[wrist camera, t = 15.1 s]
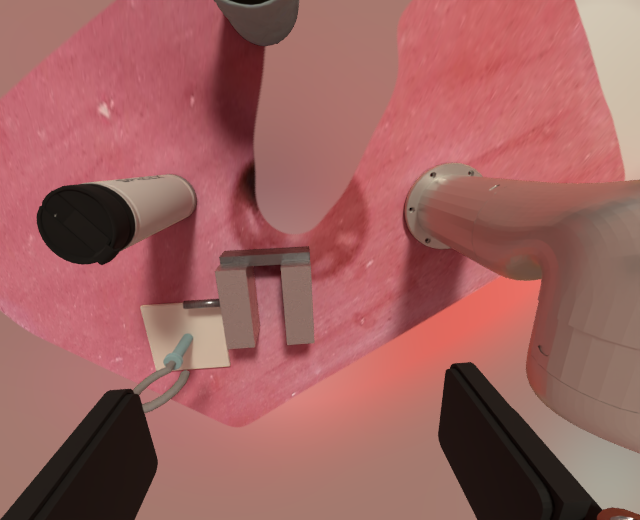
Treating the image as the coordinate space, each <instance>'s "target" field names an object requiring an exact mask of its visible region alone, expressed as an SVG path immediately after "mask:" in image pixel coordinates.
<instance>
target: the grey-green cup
mask: <svg viewBox="0 0 640 520" xmlns="http://www.w3.org/2000/svg"><path fill="white" fill-rule="evenodd" d="M214 1H215V2H216V3H217V5H218V7H219V8H220V10H221V11H222V12H223V14H224V15H225V16H226V17H227V18H228V20H229V21H230V23H231V24H232V26H233V27H234V28H235V30H236V31H237V32H238V33H239V34H240V35H241V36H242V37H243V38H244V39H246V40H248V41H249V42H251V43H254V44H256V45H260V46H268V45H273V44H278V43H279V42H280V41H281V40H283V39H284V38H285V37H287V35H288V34H289V33H290V32H291V30H292V28H293V27H294V24H295V22H296V19H297V15H298V7H299V0H214Z"/></svg>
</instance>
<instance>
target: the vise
mask: <svg viewBox="0 0 640 520" xmlns="http://www.w3.org/2000/svg"><path fill="white" fill-rule="evenodd" d="M219 258H220V265H219V267H218V268H217V269H216V271H215V276H216V282H217V288H218V294H219V299H207V300H191V301H184V302H183V308H184V309H195V308H211V307H221V313H222V320H223V326H224V332H225V339H226V345H227V349H239V348H253V347H255V346H256V342H257V337H258V333H259V329H260V320H259V311H258V302H257V293H256V285H255V276H254V267H253V266H264V265H281V278H282V290H283V302H284V314H285V326H286V338H287V345H294V344H308V343H314V323H313V303H312V282H311V264H310V252H309V246H308V247H290V248H271V249H253V250H234V251H224V252H223V253H222V255H221V256H220V257H219Z"/></svg>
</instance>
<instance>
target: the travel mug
mask: <svg viewBox="0 0 640 520" xmlns="http://www.w3.org/2000/svg"><path fill="white" fill-rule="evenodd" d="M196 204H197V198H196V193H195V190H194V189H193V187H192V185H191V184H190V183H189V182H188V181H187V180H185V179H184V178H182V177H180V176H177V175H172V174H167V175H157V176H147V177H138V178H128V179H118V180H109V181H99V182H90V183H82V184H78V185H68V186H62V187H60V188H58V189H56V190H54V191H51V192H50V193H49V194H48V195H47V196H46V197H45V199H44V200H43V201H42V206H40V207H39V210H38V213H37V225H38V229H39V232H40V235H41V237H42V239H43V240H44V242H45V243H46V245H47V246H48V247H49V248H50V249H51V250H52V251H53V252H54V253H55V254H56V255H58V256H59V257H61V258H63V259H64V260H66V261H69V262H72V263H76V264H92V263H96V262H98V263H99V264H101V265H103V264H105V263H108V262H110V261H111V260H112V259H113V258H115V257H116V255H117V254H118V253H119V252H120V251H122V250H124V249H126V248H128V247H130V246H132V245H134V244H136V243H138V242H140V241H142V240H143V239H145V238H147V237H149V236H151V235H153V234H155V233H157V232H159V231H161V230H163V229H165V228H167V227H169V226H171V225H173V224H175V223H177V222H179V221H181V220H183V219H185V218H187V217H188V216H190V215H191V214H192V213H193V211H194V210H195V208H196Z"/></svg>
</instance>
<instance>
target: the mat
mask: <svg viewBox="0 0 640 520" xmlns="http://www.w3.org/2000/svg"><path fill="white" fill-rule="evenodd" d="M140 308H141V312H142V316H143V320H144V324H145V328H146V332H147V336H148V340H149V344H150V348H151V352H152V356H153V360H154V364H155V368H156V371H158V370H160V369H162V368H165V365H164V363H163V362H164V359H165V357H166V355H168V354H169V353H172V352H173V350H174V349H175V347H176V346H177V344H178V343H179V341H180V340H181V338H182V337H183V335H184V334H191V335H192V336H193V340H192V342H191V344H190V345H189V347H188V349H187V351H186V352H185V354H184V356H183V364H182V365H181V367H180V368H179V369H177V370H187V369H200V368H214V367H227V366H230V357H229V351H228V349H227V345H226V339H225V332H224V326H223V320H222V313H221V307H211V308H195V309H184V308H183V303H169V304H153V305H142V306H141V307H140ZM172 371H174V370H172Z"/></svg>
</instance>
